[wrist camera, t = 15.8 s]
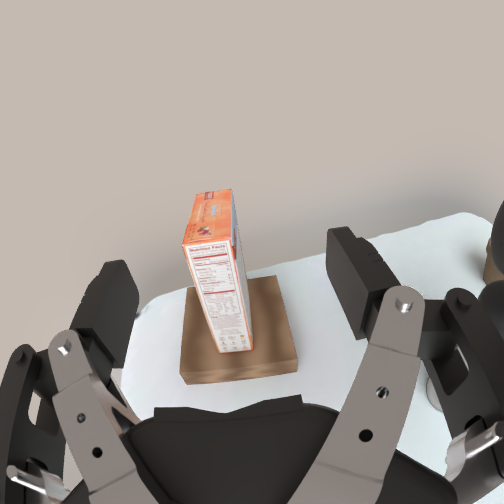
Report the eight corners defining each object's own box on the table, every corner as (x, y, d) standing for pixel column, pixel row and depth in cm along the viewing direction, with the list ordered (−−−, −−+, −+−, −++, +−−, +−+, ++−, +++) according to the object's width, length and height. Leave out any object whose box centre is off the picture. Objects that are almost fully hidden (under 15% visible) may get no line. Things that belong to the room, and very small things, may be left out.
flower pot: (512, 302, 42) (529, 268, 36) (477, 292, 47) (493, 257, 41) (505, 273, 49) (518, 242, 44) (473, 263, 55) (485, 231, 49)
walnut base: (276, 289, 58) (275, 275, 55) (296, 371, 41) (297, 358, 39) (192, 301, 57) (187, 287, 55) (186, 384, 41) (179, 372, 39)
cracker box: (218, 294, 52) (194, 192, 41) (249, 291, 52) (234, 186, 40) (215, 355, 41) (178, 242, 29) (254, 351, 41) (234, 235, 29)
